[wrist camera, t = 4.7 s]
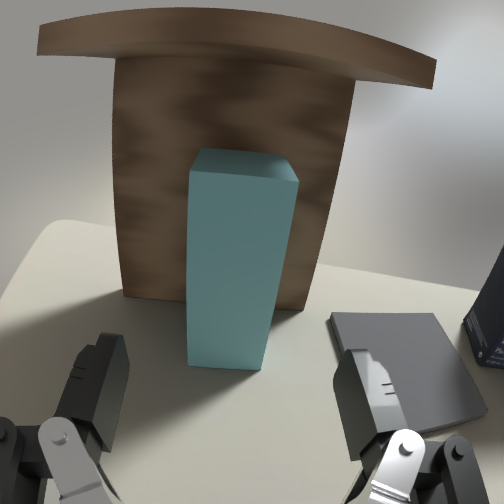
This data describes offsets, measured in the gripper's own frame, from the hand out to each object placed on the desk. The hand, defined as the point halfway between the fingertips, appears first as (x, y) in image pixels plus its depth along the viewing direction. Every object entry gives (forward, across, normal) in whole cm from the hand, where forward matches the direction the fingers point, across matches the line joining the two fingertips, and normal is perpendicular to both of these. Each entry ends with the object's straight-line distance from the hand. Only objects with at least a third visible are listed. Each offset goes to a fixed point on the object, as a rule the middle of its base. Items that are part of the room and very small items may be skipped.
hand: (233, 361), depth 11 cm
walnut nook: (+7, +1, +7) cm, 10 cm away
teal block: (+7, 0, +7) cm, 10 cm away
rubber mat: (+5, -13, +7) cm, 16 cm away
